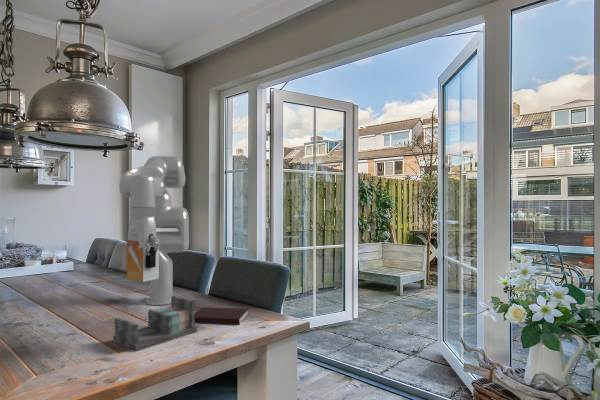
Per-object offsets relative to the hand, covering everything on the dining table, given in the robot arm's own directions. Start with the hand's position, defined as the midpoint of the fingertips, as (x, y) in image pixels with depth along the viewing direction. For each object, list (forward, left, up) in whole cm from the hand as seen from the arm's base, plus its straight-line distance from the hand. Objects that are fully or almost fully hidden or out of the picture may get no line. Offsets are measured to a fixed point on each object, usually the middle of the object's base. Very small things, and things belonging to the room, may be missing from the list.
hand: (142, 265), depth 125 cm
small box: (0, 0, -5) cm, 5 cm away
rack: (0, +5, -24) cm, 24 cm away
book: (+3, +30, -25) cm, 39 cm away
